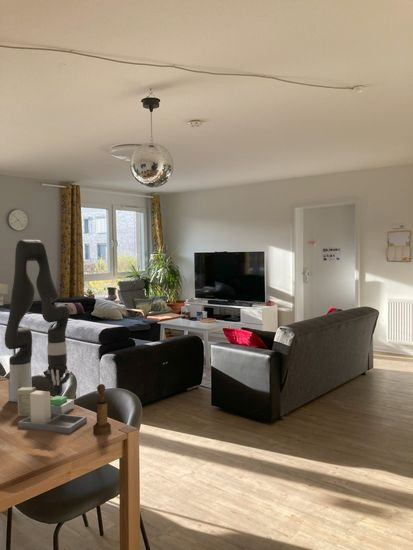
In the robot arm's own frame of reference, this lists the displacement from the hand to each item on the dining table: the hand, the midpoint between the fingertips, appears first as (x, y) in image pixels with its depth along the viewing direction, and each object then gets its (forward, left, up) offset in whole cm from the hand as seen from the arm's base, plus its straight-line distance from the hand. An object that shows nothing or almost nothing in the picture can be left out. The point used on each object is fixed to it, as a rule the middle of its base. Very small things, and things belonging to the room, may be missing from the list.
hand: (58, 393), depth 190 cm
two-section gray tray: (+7, -14, -9) cm, 18 cm away
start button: (0, 0, -5) cm, 5 cm away
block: (+1, -14, -7) cm, 16 cm away
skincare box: (-10, -7, -9) cm, 15 cm away
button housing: (0, 0, -9) cm, 9 cm away
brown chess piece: (+27, -12, -9) cm, 31 cm away
